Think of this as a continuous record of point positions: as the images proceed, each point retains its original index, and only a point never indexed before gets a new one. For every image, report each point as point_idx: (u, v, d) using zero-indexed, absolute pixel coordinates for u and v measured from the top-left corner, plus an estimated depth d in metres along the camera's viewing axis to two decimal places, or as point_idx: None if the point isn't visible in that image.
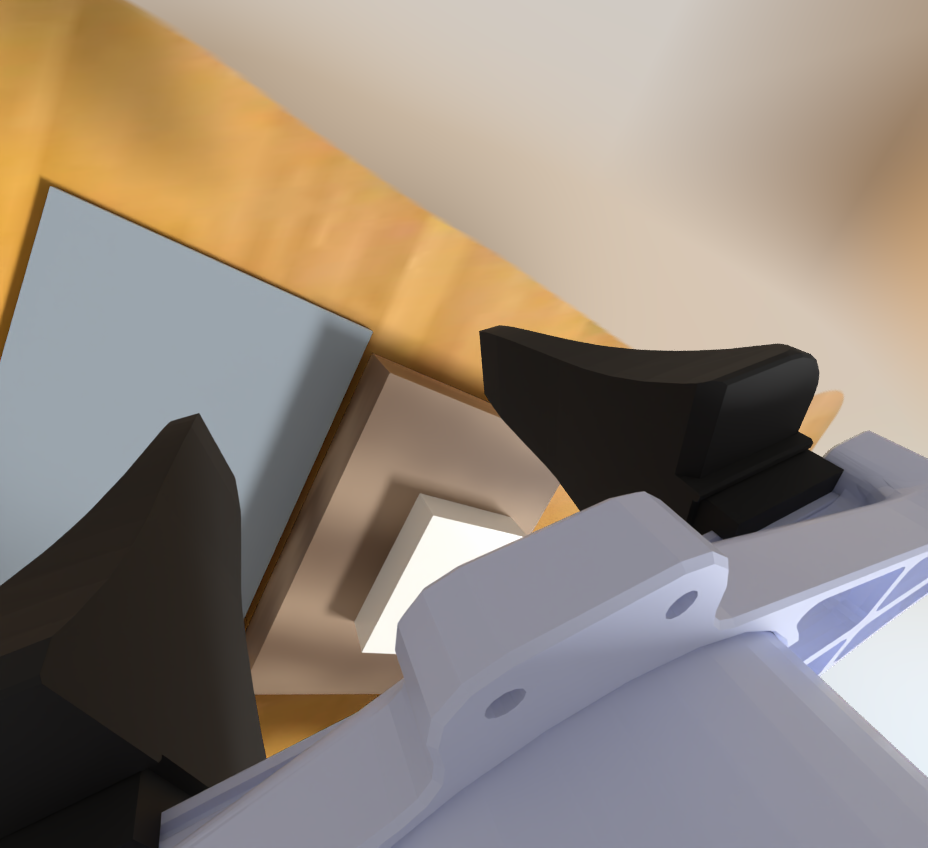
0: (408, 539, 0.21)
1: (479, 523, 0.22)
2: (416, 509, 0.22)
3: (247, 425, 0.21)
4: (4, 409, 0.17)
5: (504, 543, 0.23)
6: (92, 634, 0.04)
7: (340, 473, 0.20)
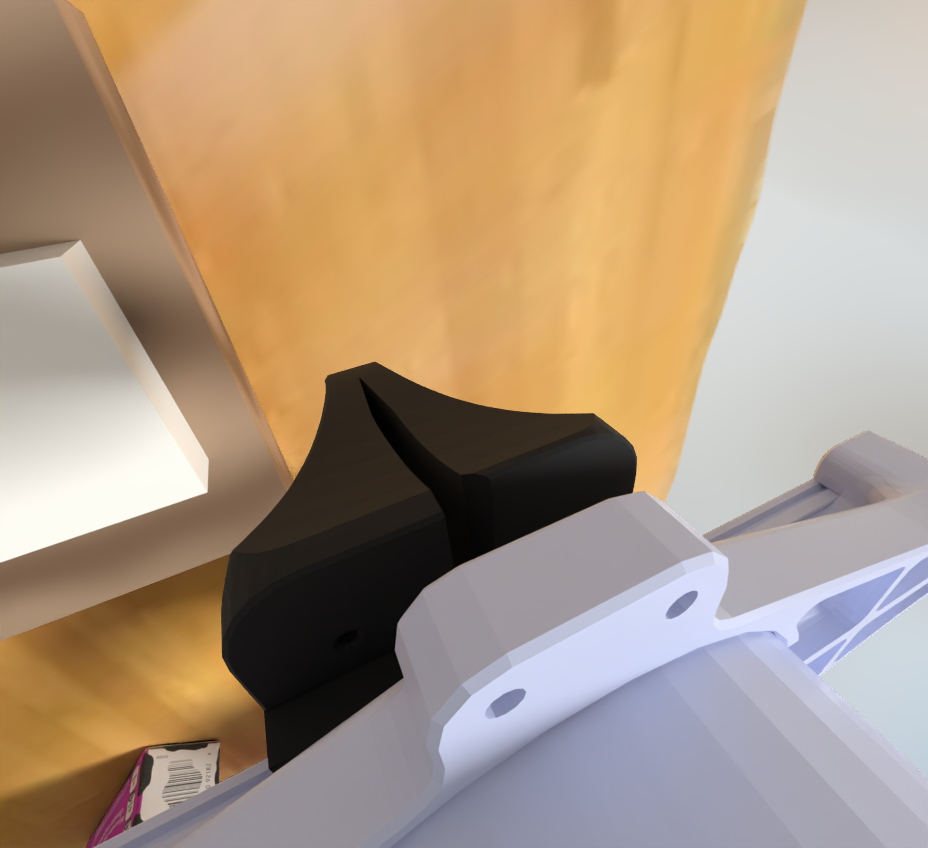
0: None
1: None
2: None
3: None
4: None
5: (11, 294, 0.11)
6: None
7: None
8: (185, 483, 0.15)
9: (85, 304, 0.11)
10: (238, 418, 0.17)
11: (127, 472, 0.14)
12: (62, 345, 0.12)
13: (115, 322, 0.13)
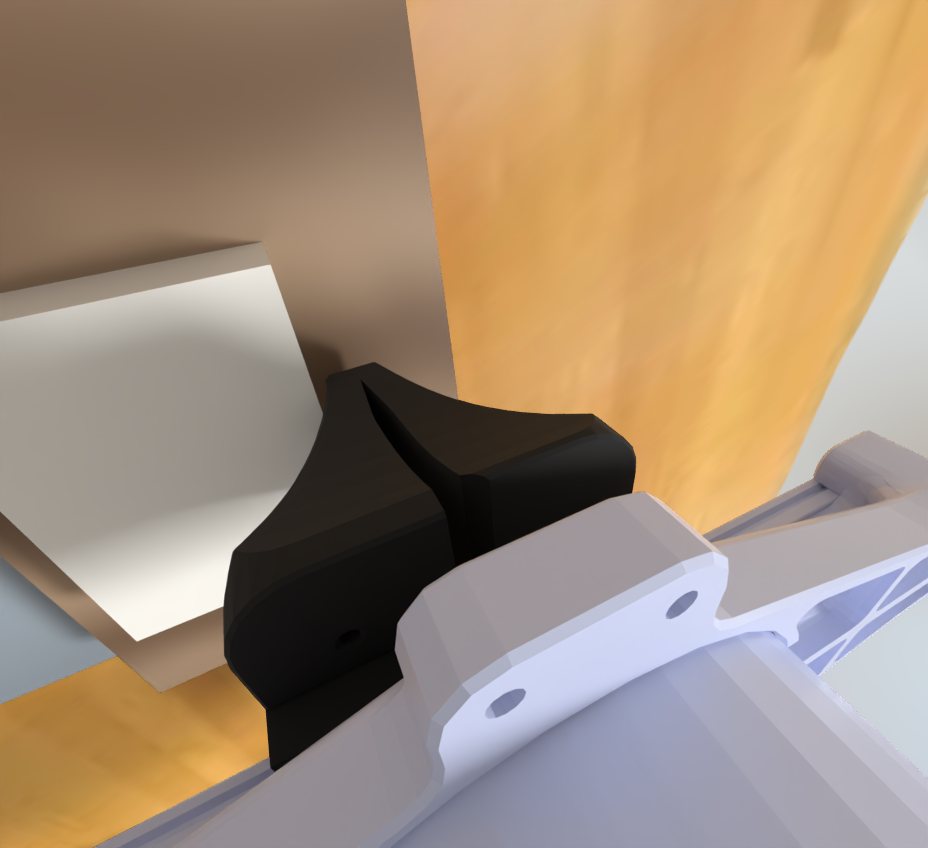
0: None
1: (73, 300, 0.07)
2: None
3: None
4: None
5: (205, 314, 0.08)
6: None
7: None
8: None
9: (286, 326, 0.09)
10: None
11: None
12: (251, 379, 0.09)
13: None
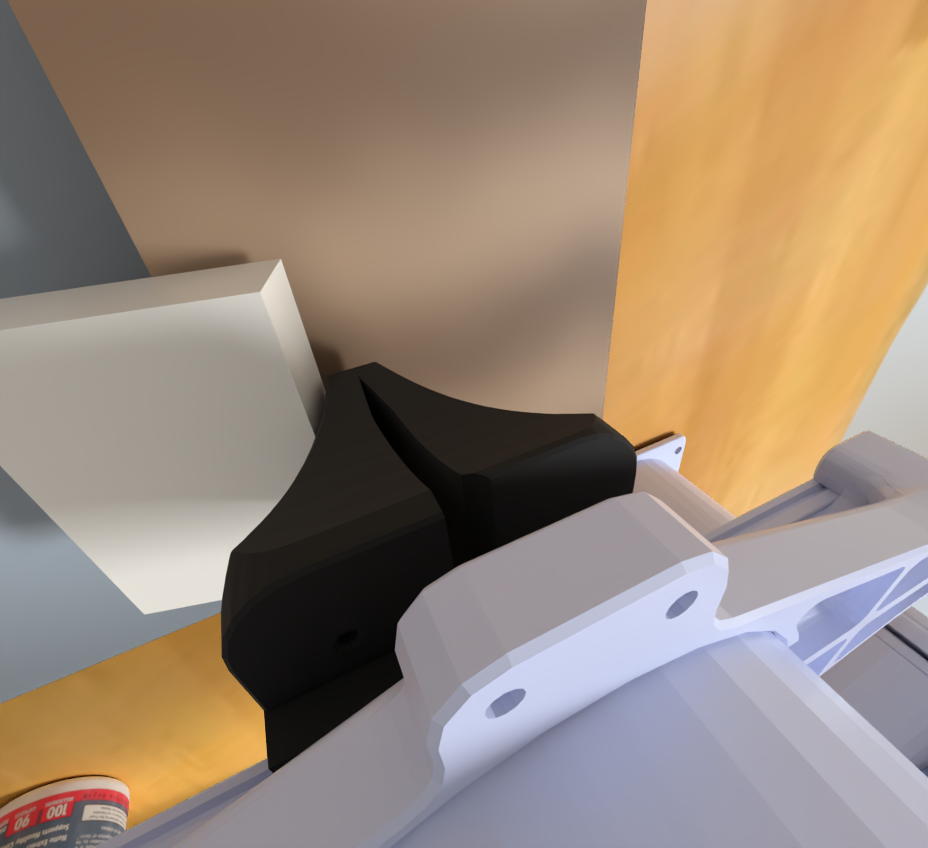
0: None
1: (78, 312, 0.08)
2: None
3: None
4: None
5: (195, 336, 0.08)
6: None
7: (154, 274, 0.09)
8: None
9: (277, 353, 0.08)
10: (597, 382, 0.16)
11: None
12: (242, 401, 0.09)
13: (304, 369, 0.10)
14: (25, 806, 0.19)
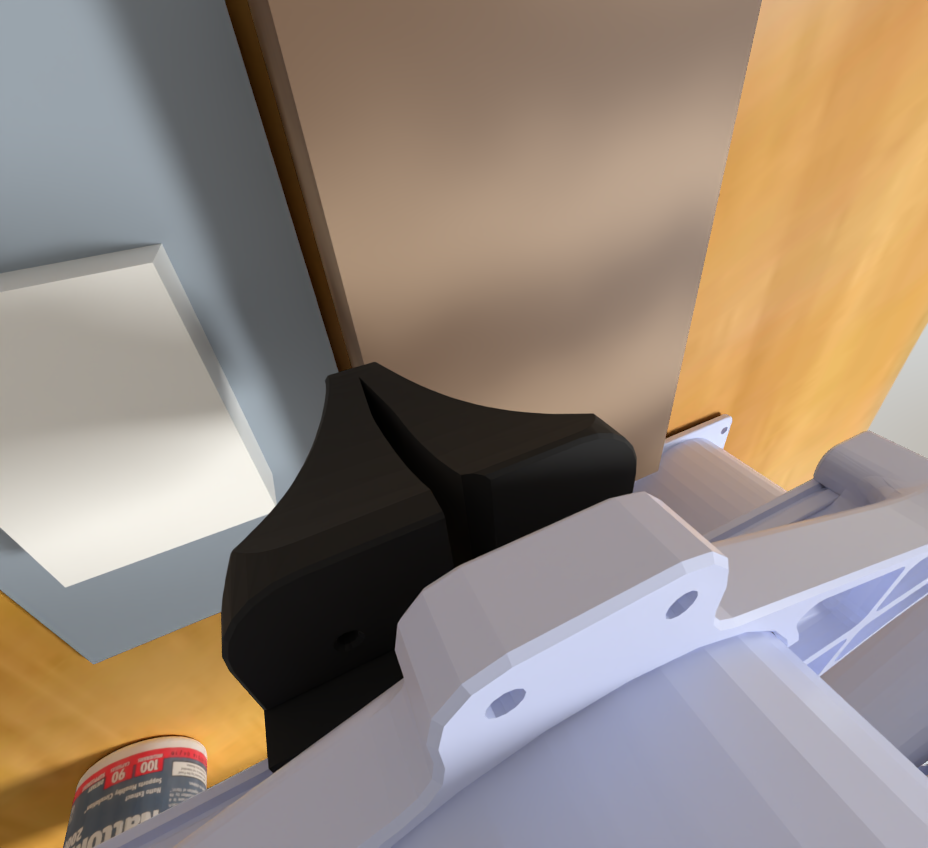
0: (196, 329, 0.12)
1: (24, 271, 0.10)
2: (169, 287, 0.11)
3: None
4: None
5: None
6: None
7: (328, 237, 0.10)
8: None
9: None
10: (676, 354, 0.17)
11: None
12: None
13: None
14: (119, 761, 0.20)
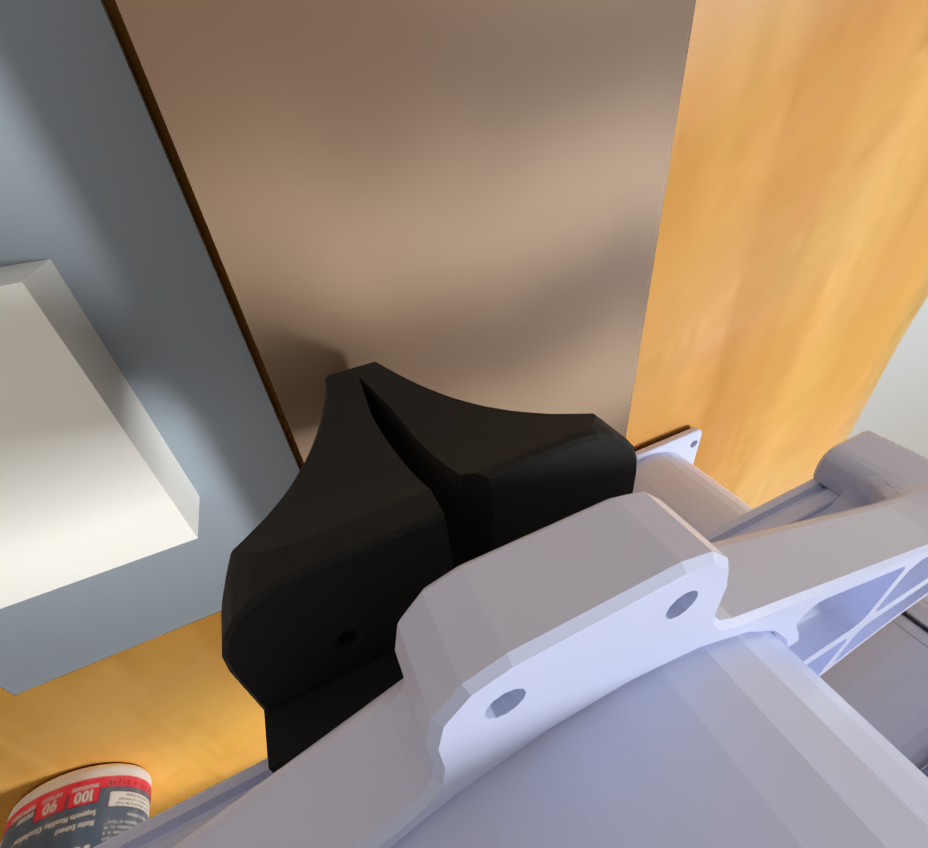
0: (91, 350, 0.11)
1: None
2: (49, 307, 0.10)
3: None
4: None
5: None
6: None
7: (220, 254, 0.10)
8: None
9: None
10: (627, 371, 0.16)
11: None
12: None
13: None
14: (52, 792, 0.19)
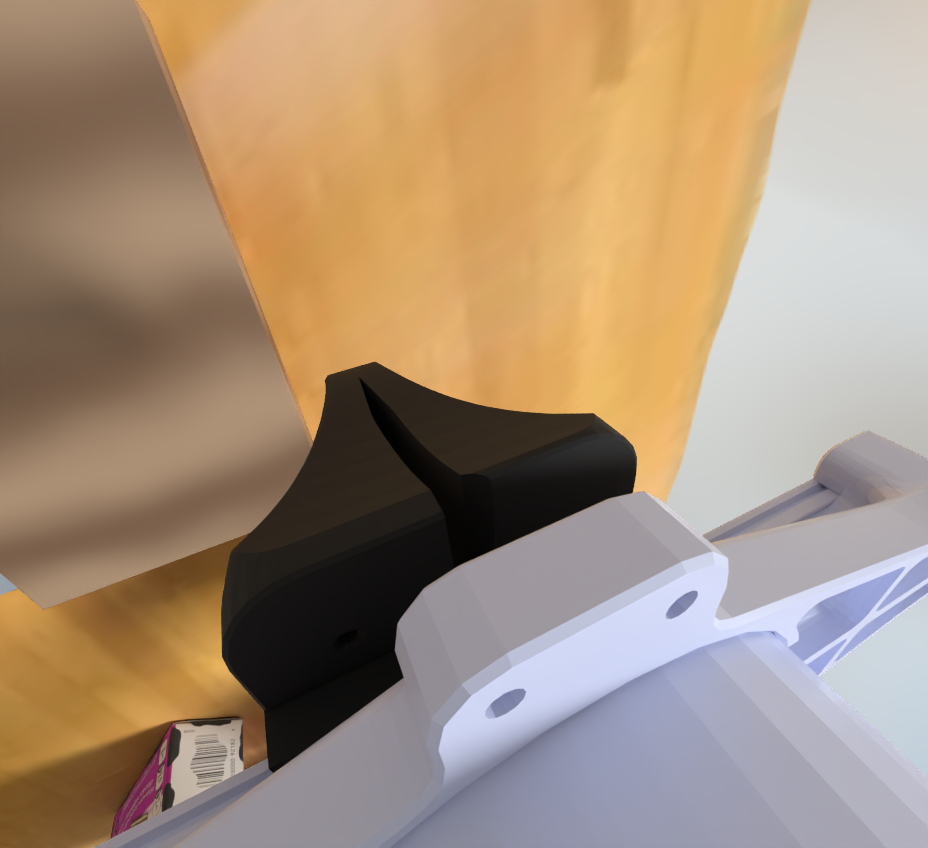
0: None
1: None
2: None
3: None
4: None
5: None
6: None
7: None
8: None
9: None
10: (278, 396, 0.18)
11: None
12: None
13: None
14: None
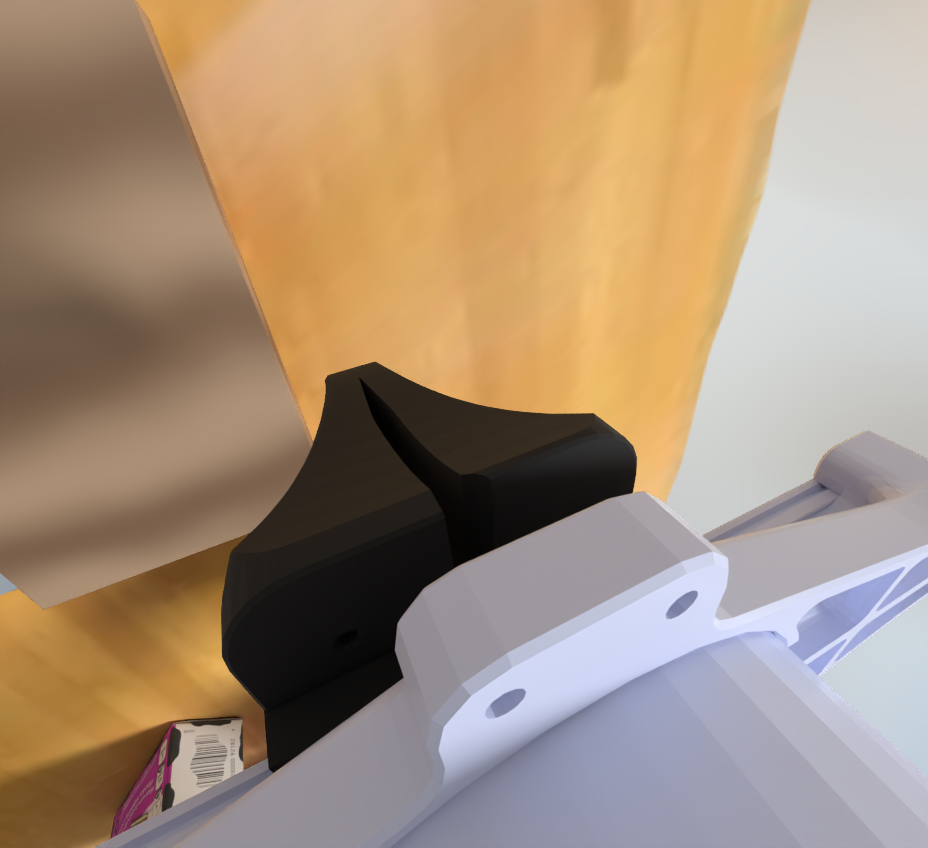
0: None
1: None
2: None
3: None
4: None
5: None
6: None
7: None
8: None
9: None
10: (278, 396, 0.18)
11: None
12: None
13: None
14: None
